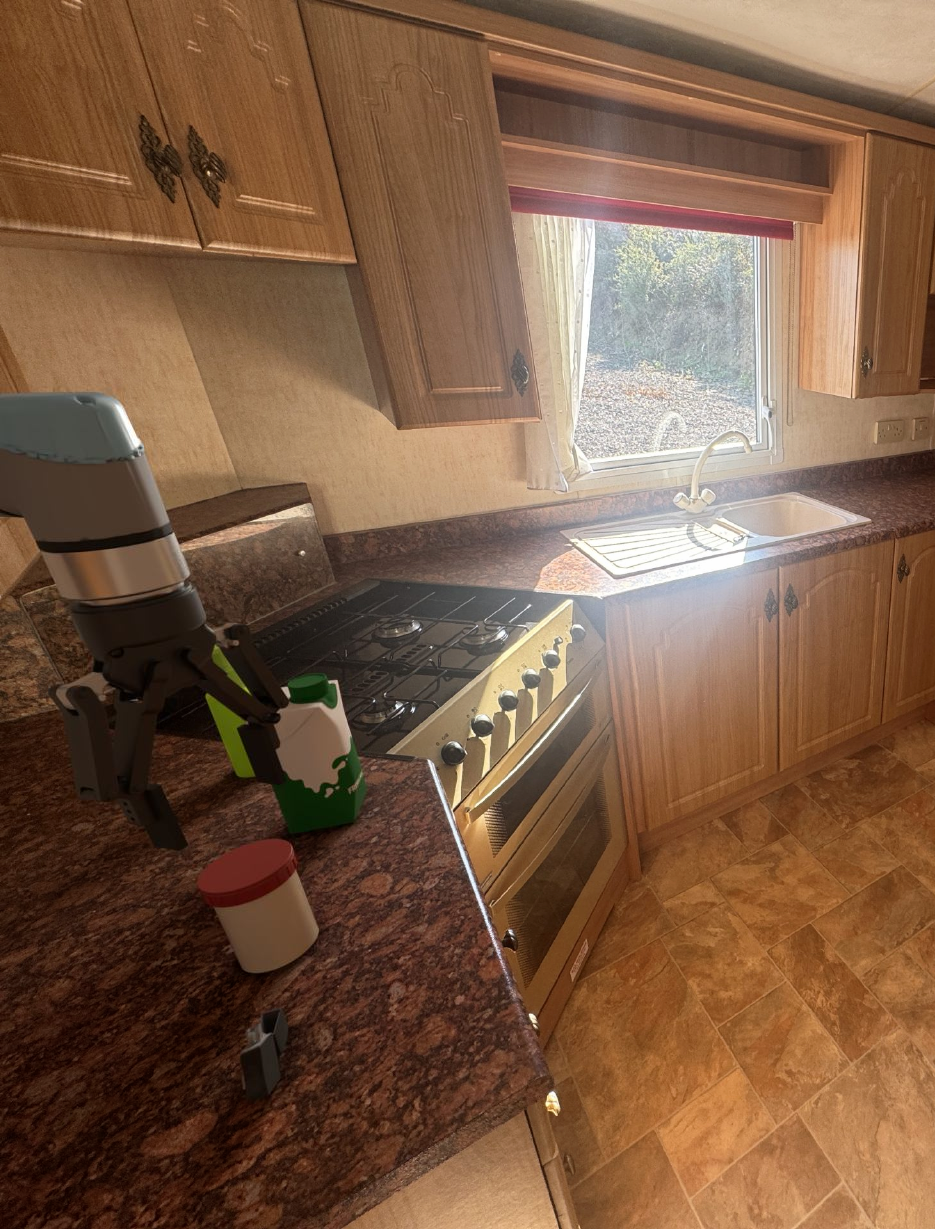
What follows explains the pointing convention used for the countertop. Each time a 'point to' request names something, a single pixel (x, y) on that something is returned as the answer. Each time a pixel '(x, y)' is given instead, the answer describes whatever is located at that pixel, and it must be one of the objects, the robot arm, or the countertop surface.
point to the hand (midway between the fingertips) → (225, 811)
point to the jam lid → (247, 873)
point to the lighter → (263, 1054)
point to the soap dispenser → (230, 721)
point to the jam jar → (270, 927)
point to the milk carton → (317, 757)
